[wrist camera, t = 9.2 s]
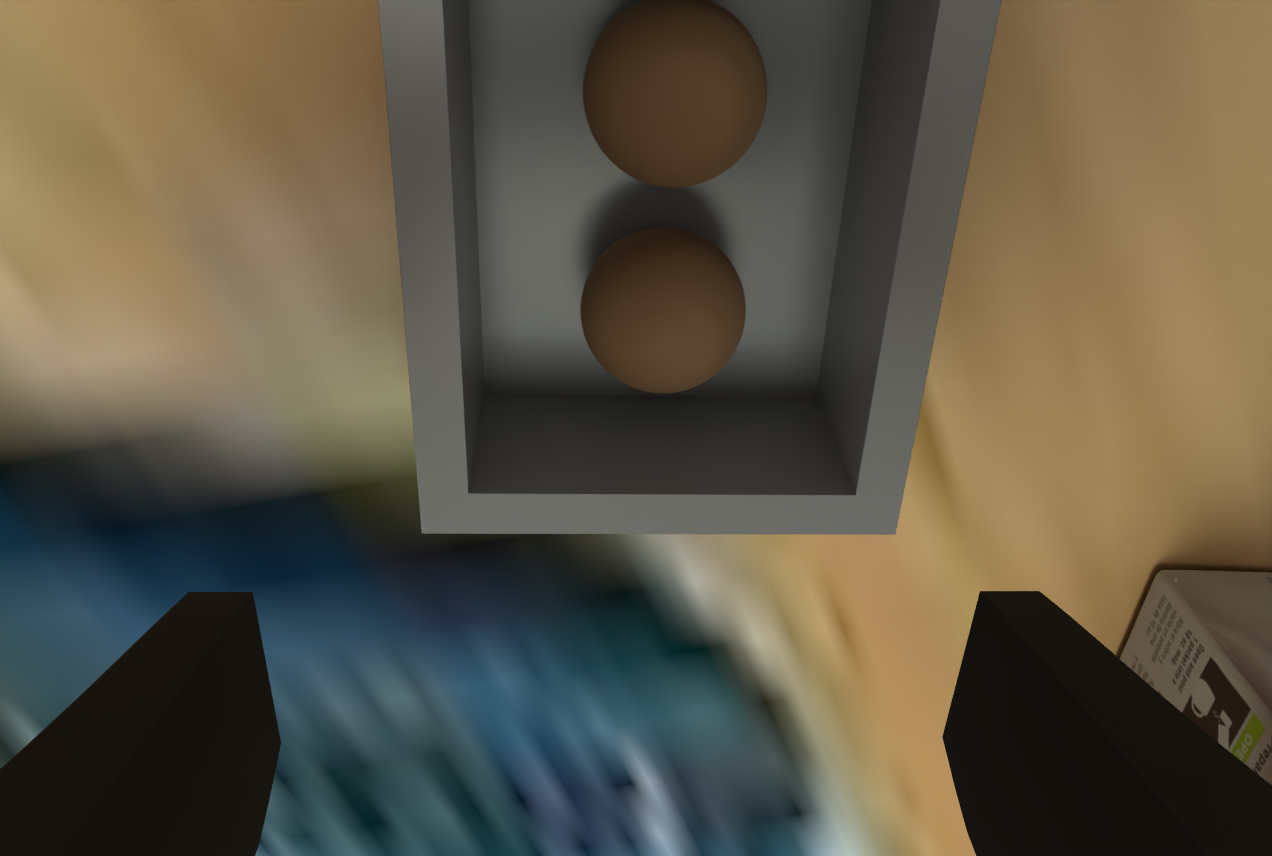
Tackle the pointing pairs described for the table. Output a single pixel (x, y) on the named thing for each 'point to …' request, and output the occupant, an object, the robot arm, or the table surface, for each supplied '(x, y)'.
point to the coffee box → (1211, 655)
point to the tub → (716, 209)
